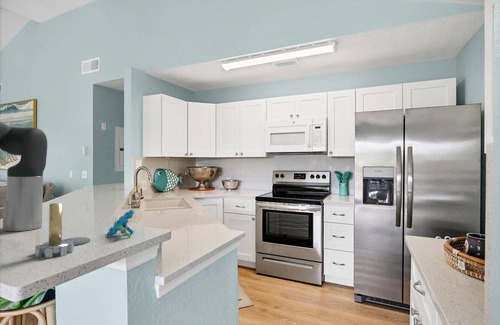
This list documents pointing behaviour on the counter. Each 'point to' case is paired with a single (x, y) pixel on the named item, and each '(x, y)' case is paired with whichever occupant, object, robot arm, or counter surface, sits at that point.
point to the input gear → (54, 236)
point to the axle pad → (78, 240)
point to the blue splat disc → (122, 225)
